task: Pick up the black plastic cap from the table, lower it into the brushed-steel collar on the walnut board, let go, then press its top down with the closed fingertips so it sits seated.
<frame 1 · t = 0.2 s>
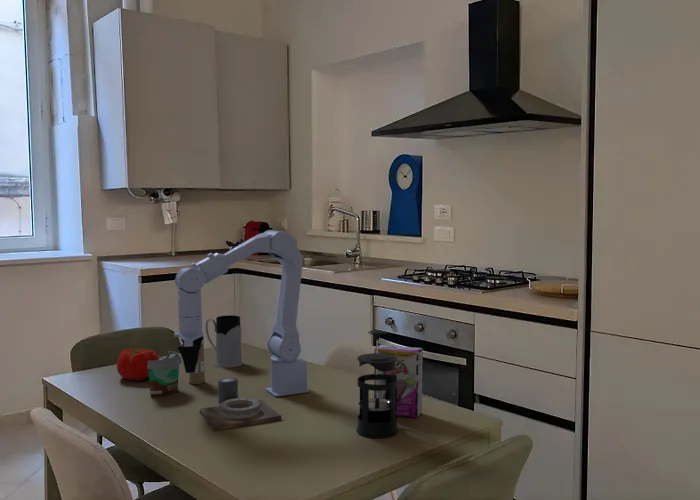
hand: (191, 368, 167), 10 cm above the table, tool pointing down, fingers open, 7 cm apart
food container: (169, 393, 179), on the table
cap: (228, 401, 171), on the table
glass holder: (222, 363, 211), on the table
french press: (378, 431, 149), on the table
candy bar box: (398, 414, 161), on the table
collar: (239, 416, 159), on the table
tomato: (138, 378, 194), on the table
sprinkles bottle: (197, 383, 189), on the table
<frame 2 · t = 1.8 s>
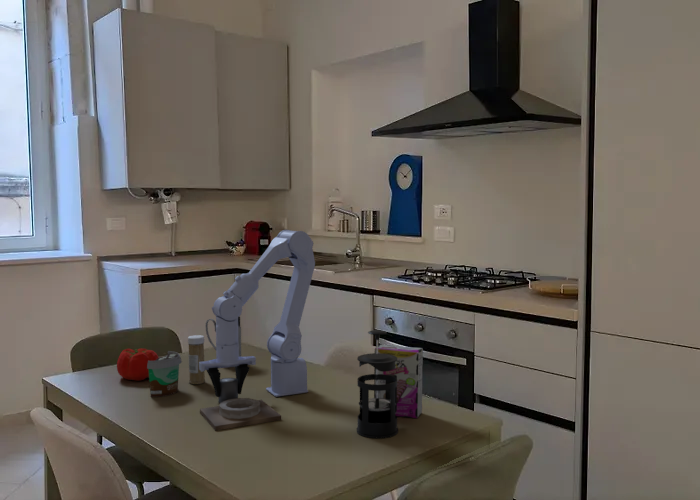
hand: (228, 394, 171), 2 cm above the table, tool pointing down, fingers closed on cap, 5 cm apart
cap: (228, 401, 171), on the table, touching gripper
everything else where it was.
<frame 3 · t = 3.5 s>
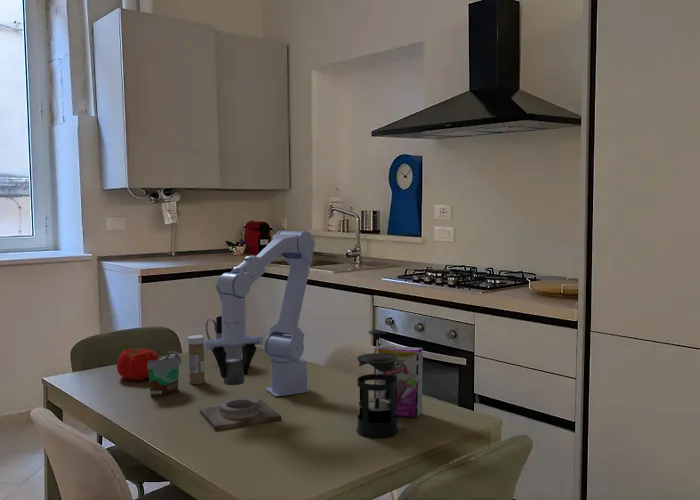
hand: (234, 375, 163), 9 cm above the table, tool pointing down, fingers closed on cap, 5 cm apart
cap: (234, 382, 163), point 7 cm above the table, touching gripper
everything else where it was.
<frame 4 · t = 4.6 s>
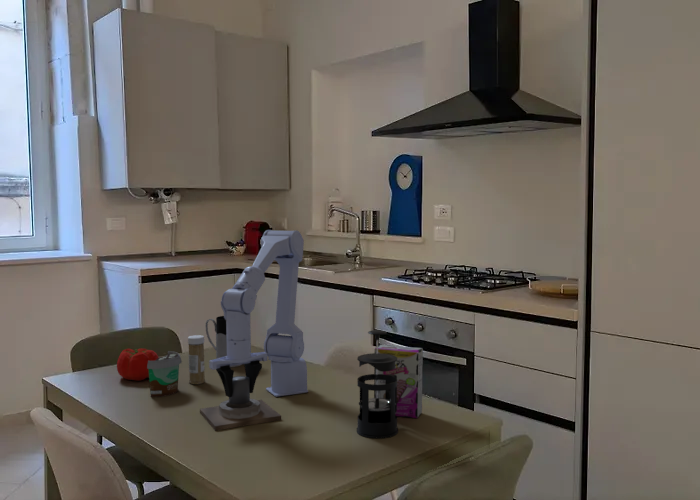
hand: (239, 394, 159), 5 cm above the table, tool pointing down, fingers closed on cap, 5 cm apart
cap: (239, 401, 159), point 4 cm above the table, touching gripper
everything else where it was.
when the fingers open (4 cm above the table, at t = 5.5 s): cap drops 1 cm, resting on collar.
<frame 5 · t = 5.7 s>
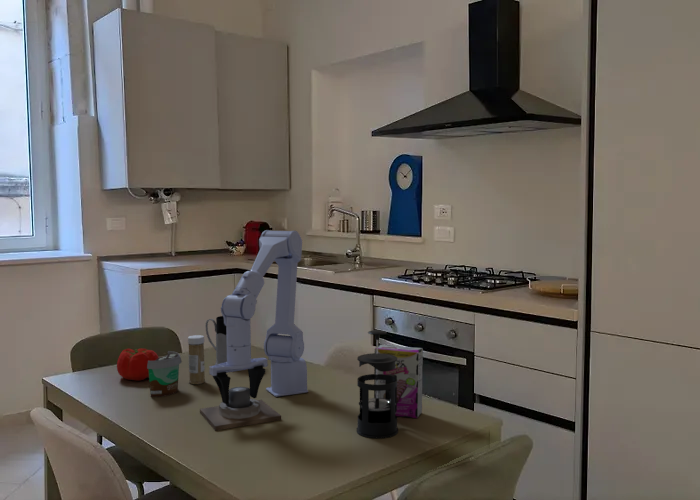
hand: (239, 400, 159), 4 cm above the table, tool pointing down, fingers open, 7 cm apart
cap: (239, 412, 159), point 1 cm above the table, touching collar
everything else where it was.
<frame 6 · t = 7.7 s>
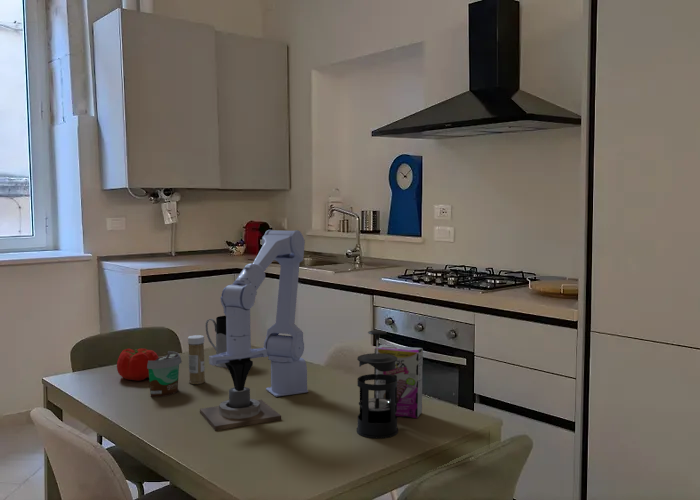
hand: (239, 390, 159), 6 cm above the table, tool pointing down, fingers closed, pressing on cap
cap: (239, 412, 159), point 1 cm above the table, touching collar, gripper
everything else where it was.
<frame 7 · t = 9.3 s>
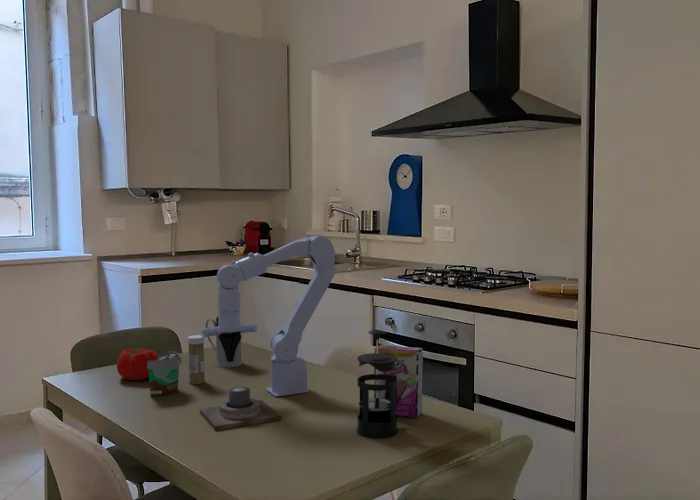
hand: (229, 361, 175), 9 cm above the table, tool pointing down, fingers closed
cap: (239, 412, 159), point 1 cm above the table, touching collar
everything else where it was.
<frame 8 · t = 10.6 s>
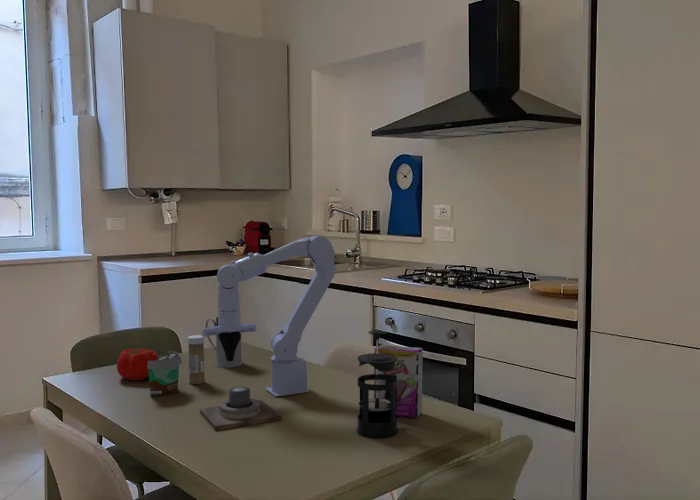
hand: (229, 360, 176), 9 cm above the table, tool pointing down, fingers closed
nothing on the table moved.
at the end: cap 0.1 cm off-centre on the collar, point 1.0 cm above the collar's base; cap tilted 0°; the gripper is holding nothing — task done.
